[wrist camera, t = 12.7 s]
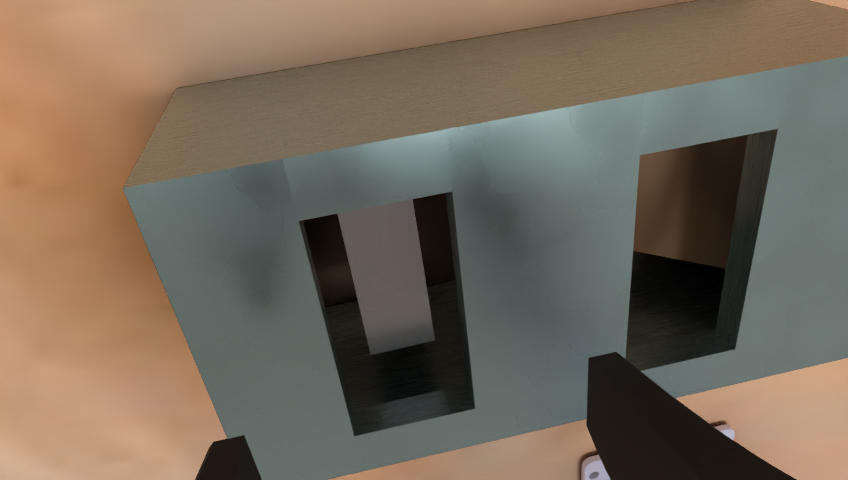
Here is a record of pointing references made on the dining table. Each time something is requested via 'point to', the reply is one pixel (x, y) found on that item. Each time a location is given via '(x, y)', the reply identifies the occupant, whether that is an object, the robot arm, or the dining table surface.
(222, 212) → the toaster
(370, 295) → the grey tall block
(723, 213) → the block
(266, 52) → the dining table surface
